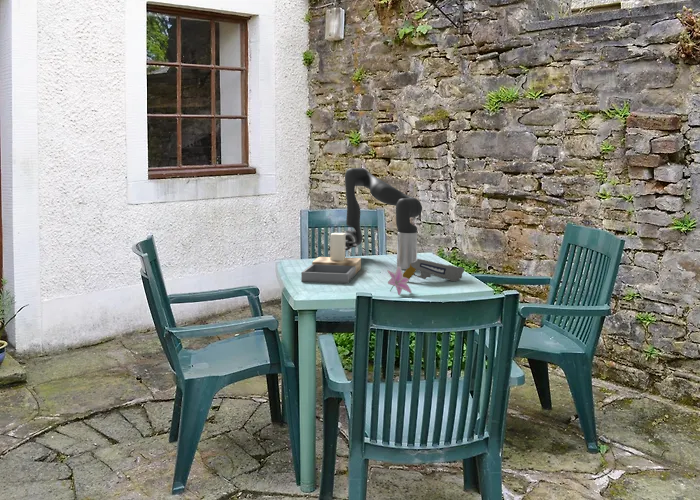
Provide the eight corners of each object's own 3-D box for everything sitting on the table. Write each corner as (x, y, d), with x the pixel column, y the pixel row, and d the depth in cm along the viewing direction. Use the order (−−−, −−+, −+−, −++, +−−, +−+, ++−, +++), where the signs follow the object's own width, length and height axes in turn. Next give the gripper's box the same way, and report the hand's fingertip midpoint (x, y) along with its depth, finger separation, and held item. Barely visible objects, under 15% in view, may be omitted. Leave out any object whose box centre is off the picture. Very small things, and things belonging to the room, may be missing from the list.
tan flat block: (360, 268, 353) (361, 258, 352) (355, 274, 337) (355, 263, 336) (319, 267, 356) (319, 256, 355) (312, 272, 340) (312, 261, 340)
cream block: (345, 258, 350) (345, 233, 349) (343, 260, 344) (343, 234, 343) (332, 258, 351) (332, 232, 350) (330, 260, 345) (330, 234, 344)
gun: (452, 301, 325) (465, 269, 324) (401, 281, 320) (414, 248, 319) (450, 299, 328) (463, 268, 327) (399, 279, 323) (412, 247, 322)
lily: (382, 298, 292) (393, 278, 288) (375, 281, 302) (385, 262, 298) (408, 305, 297) (419, 286, 293) (401, 288, 307) (411, 270, 303)
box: (355, 274, 337) (355, 265, 336) (347, 283, 316) (348, 274, 315) (311, 272, 340) (312, 264, 339) (301, 281, 319) (301, 272, 318)
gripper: (333, 233, 372) (327, 238, 355) (360, 234, 370) (354, 239, 353) (333, 248, 373) (326, 253, 356) (359, 249, 371) (354, 254, 354)
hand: (340, 246), depth 355 cm, fingers closed
